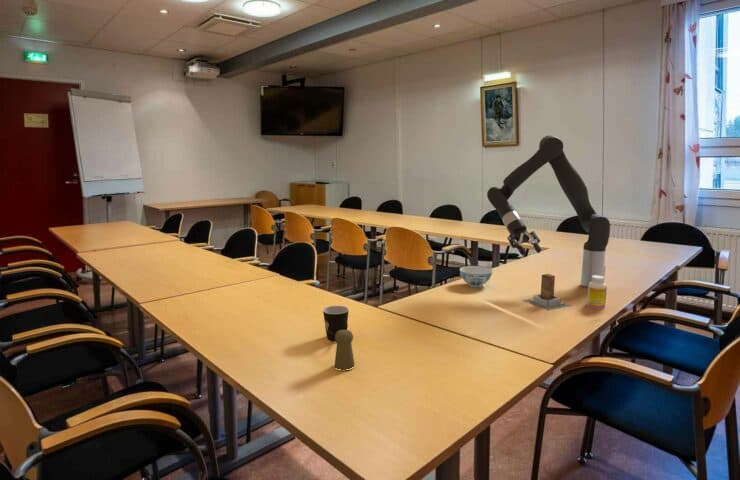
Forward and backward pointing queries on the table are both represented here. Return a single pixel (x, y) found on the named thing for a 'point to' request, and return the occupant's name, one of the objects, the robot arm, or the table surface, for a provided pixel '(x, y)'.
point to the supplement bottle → (597, 292)
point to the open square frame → (547, 301)
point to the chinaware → (475, 275)
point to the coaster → (549, 307)
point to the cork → (344, 350)
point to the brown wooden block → (547, 286)
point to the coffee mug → (335, 320)
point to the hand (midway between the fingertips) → (532, 253)
